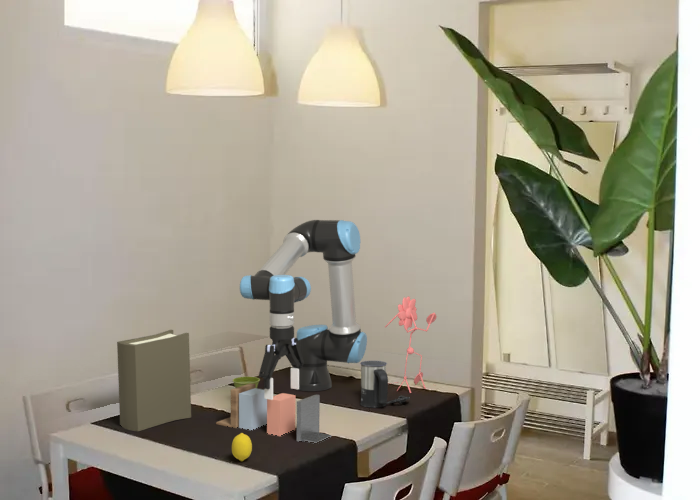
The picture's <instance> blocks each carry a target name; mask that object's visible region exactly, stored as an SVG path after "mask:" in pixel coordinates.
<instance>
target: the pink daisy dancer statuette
mask: <svg viewBox="0 0 700 500" xmlns="http://www.w3.org/2000/svg"><path fill="white" fill-rule="evenodd" d="M416 303H417V300H416V299H415V298H411V296H406V297H405V296H404V297H403V299H402V303H399V304H398V305H397V309H398V312H397V314H396V315H395V316H394V317H393V318H392V319H391V320H389V322H388V323H387V324H386V325H385V326H384V328H387V327H388V325H390V324H391V323H392V322H393V321H394V320H395V319H396V318H399V320H398V326H400V327H401V326H403V327H404V331H405V332H406V333H410V335H409V344H408V348H407V349H406V356H405V357H406V359H405V367H404V377H403V381H402V382H401V383H400V385H399V386H398V388H397V390H396V392H398V391H399V390H400V388H401V386H402V385H403V384H404V382H405V384H406V387H407V388H408V391H409V394H411V393H412V391H411V388H410V386H409V383H408V380H407V378H408V376H407V375H406V372H407V363H408V358H409V357H408V356H409V355H413V354H416V355H418V356H419V357H420V364H419V370H418V371H419V373H417V374H416V376H415V377H414V379H413V383H414V384H415V385H418V383H420V382H421V383H422V386H423V389H426V388H427V387H426V385H425V382H424V380H423V376H424V373H423V372H421V369H422V368H421V367H422V359H423V355H422V354H419V353H417V352H416V351H415V349H414V348H413V347H412V346H411V343H412V335H413V333H415V332H416V331H417V330H420V331H422V332H428V331H429V329H430V326H431V324H432V323H434V322H435V321H436V319H437V317H438V316H437V314H436V312H432V313H430V314H429V315H428V316H427V317H426V323H427V324H428V325H427V327H426V329H424V328H420V327H417V324H416V321H418V314H417V309H418V308H417V307H416ZM413 325H414V328H412V327H413ZM409 328H411V329H409ZM408 329H409V330H408ZM397 383H399V381H397V382H394V384H397ZM389 384H392V382H390V383H389ZM434 386H435V387H436V386H437V385H436V384H434Z"/></svg>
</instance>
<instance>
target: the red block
mask: <svg viewBox="0 0 700 500" xmlns="http://www.w3.org/2000/svg"><path fill="white" fill-rule="evenodd" d="M296 414H297V400H296V394H295V395H294V394H290V393H285V392H282V393H279V394H277V395H273V400H270V399H267V425H266V434H267V433H268V434H267V435H271V434H273V435H272V436H275V435H277V436H276V437H282V436H281V435H283V434H285V433H287V434H289V433H291V432H290V431H292V430H294V431H296ZM288 432H289V433H288ZM292 432H293V431H292ZM285 435H286V434H285ZM283 436H284V435H283Z"/></svg>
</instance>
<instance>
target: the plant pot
mask: <svg viewBox="0 0 700 500" xmlns="http://www.w3.org/2000/svg"><path fill="white" fill-rule="evenodd" d="M260 381H261V378H260V377H257V376H239V377H236V378H235V377H234V378H233V379H232V382H233V385H234V388H238V387H241V386H244V385H247V384H250V383H252V384H256V388H257V389H258V386H259V383H260Z"/></svg>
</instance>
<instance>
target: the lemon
mask: <svg viewBox="0 0 700 500" xmlns="http://www.w3.org/2000/svg"><path fill="white" fill-rule="evenodd" d="M252 451H253V444H252V440H251V438H250V436H248V435H247V434H244V433H243V432H240V433H239V434H236V436H234V438H233V440H232V443H231V453H232V455H233V457H234V458H236V459H237V460H239V461H240V462H244V461H245V460H246V459H248V458H249V457H250V456H251V453H252Z"/></svg>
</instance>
